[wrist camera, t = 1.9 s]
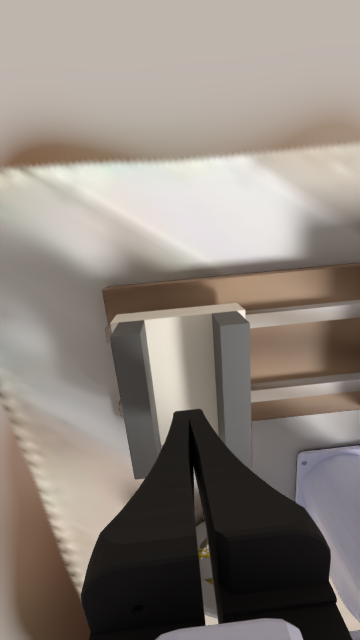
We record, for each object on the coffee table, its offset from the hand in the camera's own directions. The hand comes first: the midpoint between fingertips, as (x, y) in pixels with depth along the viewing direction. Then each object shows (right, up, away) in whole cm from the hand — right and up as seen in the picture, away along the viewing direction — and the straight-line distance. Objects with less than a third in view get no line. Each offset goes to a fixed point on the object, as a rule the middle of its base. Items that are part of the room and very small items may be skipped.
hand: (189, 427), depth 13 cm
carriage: (0, +2, +6) cm, 6 cm away
